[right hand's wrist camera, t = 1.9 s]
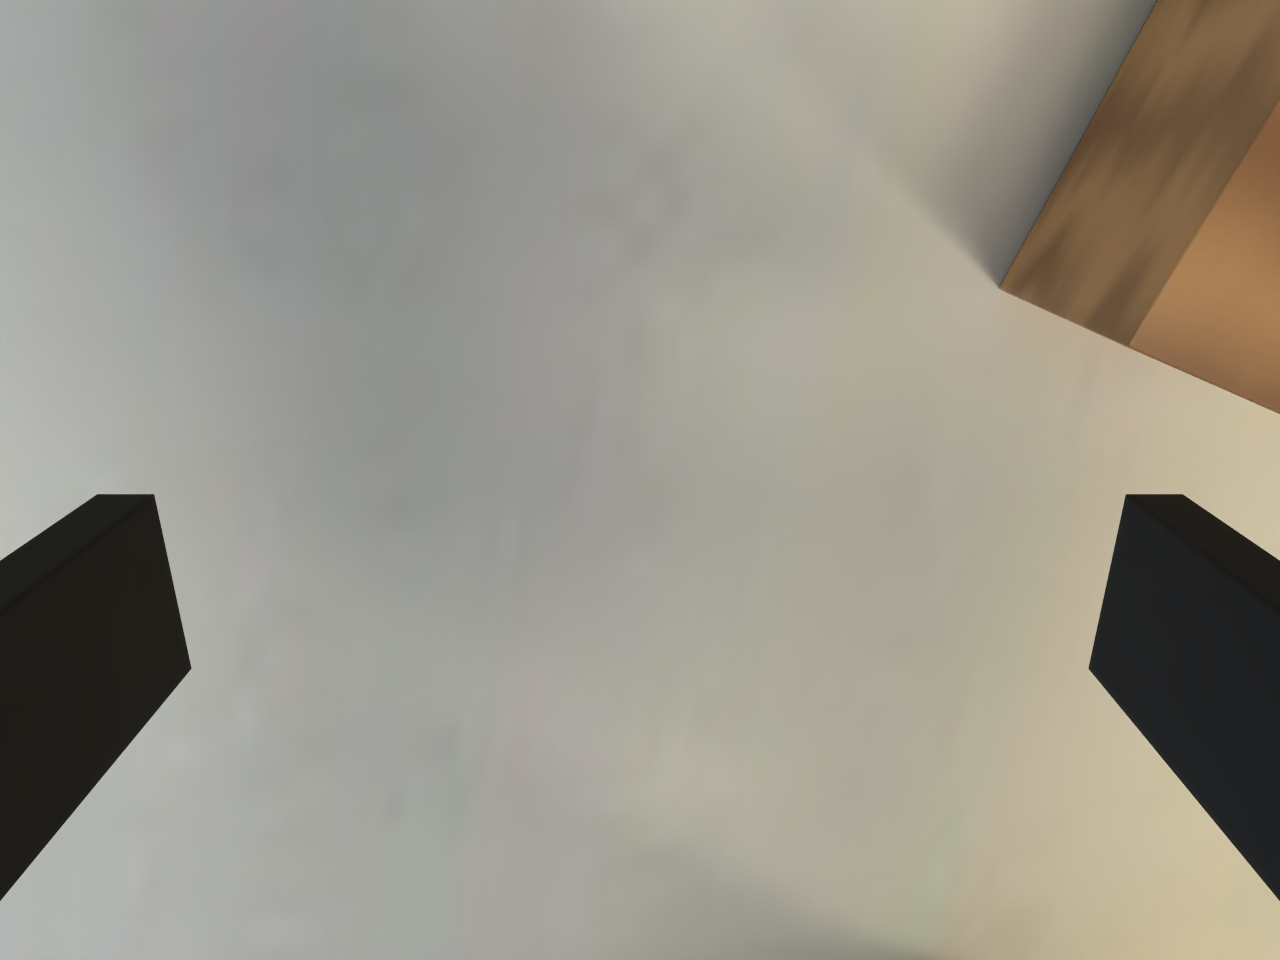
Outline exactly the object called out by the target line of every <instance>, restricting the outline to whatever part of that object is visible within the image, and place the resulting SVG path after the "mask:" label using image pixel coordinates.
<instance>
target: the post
mask: <svg viewBox="0 0 1280 960" xmlns="http://www.w3.org/2000/svg"><path fill="white" fill-rule="evenodd" d="M1000 290H1002V291H1005V292H1007V293H1009V294H1011V295H1013V296H1016V297H1018V298H1020V299H1022V300H1025V301H1027V302H1029V303H1031V304H1033V305H1036V306H1038V307H1040V308H1042V309H1044V310H1047V311H1049V312H1051V313H1053V314H1055V315H1058V316H1060V317H1062V318H1064V319H1067V320H1069V321H1071V322H1073V323H1075V324H1078V325H1080V326H1082V327H1084V328H1086V329H1089V330H1091V331H1093V332H1095V333H1097V334H1100V335H1102V336H1104V337H1106V338H1109V339H1111V340H1113V341H1115V342H1117V343H1120V344H1122V345H1124V346H1126V347H1128V348H1131V349H1133V350H1135V351H1138V352H1140V353H1142V354H1144V355H1147V356H1149V357H1151V358H1153V359H1156V360H1158V361H1160V362H1163V363H1165V364H1167V365H1169V366H1172V367H1174V368H1176V369H1179V370H1181V371H1183V372H1185V373H1188V374H1190V375H1192V376H1194V377H1197V378H1199V379H1201V380H1204V381H1206V382H1208V383H1210V384H1213V385H1215V386H1217V387H1220V388H1222V389H1224V390H1226V391H1229V392H1231V393H1233V394H1235V395H1238V396H1240V397H1242V398H1245V399H1247V400H1249V401H1251V402H1254V403H1256V404H1258V405H1261V406H1263V407H1265V408H1267V409H1270V410H1272V411H1274V412H1276V413H1279V414H1280V0H1158V1H1157V3H1156V4H1155V6H1154V8H1153V10H1152V12H1151V13H1150V15H1149V17H1148V19H1147V21H1146V22H1145V24H1144V26H1143V28H1142V30H1141V32H1140V33H1139V35H1138V37H1137V39H1136V41H1135V42H1134V44H1133V46H1132V48H1131V50H1130V52H1129V53H1128V55H1127V57H1126V59H1125V61H1124V62H1123V64H1122V66H1121V68H1120V70H1119V72H1118V73H1117V75H1116V77H1115V79H1114V81H1113V82H1112V84H1111V86H1110V88H1109V90H1108V92H1107V93H1106V95H1105V97H1104V99H1103V101H1102V102H1101V104H1100V106H1099V108H1098V110H1097V111H1096V113H1095V115H1094V117H1093V119H1092V121H1091V122H1090V124H1089V126H1088V128H1087V130H1086V131H1085V133H1084V135H1083V137H1082V139H1081V141H1080V142H1079V144H1078V146H1077V148H1076V150H1075V151H1074V153H1073V155H1072V157H1071V159H1070V161H1069V162H1068V164H1067V166H1066V168H1065V170H1064V171H1063V173H1062V175H1061V177H1060V179H1059V181H1058V182H1057V184H1056V186H1055V188H1054V190H1053V191H1052V193H1051V195H1050V197H1049V199H1048V200H1047V202H1046V204H1045V206H1044V208H1043V210H1042V211H1041V213H1040V215H1039V217H1038V219H1037V220H1036V222H1035V224H1034V226H1033V228H1032V230H1031V231H1030V233H1029V235H1028V237H1027V239H1026V240H1025V242H1024V244H1023V246H1022V248H1021V250H1020V251H1019V253H1018V255H1017V257H1016V259H1015V260H1014V262H1013V264H1012V266H1011V268H1010V269H1009V271H1008V273H1007V275H1006V277H1005V279H1004V280H1003V282H1002V284H1001V286H1000Z"/></svg>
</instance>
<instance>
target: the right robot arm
mask: <svg viewBox="0 0 1280 960" xmlns="http://www.w3.org/2000/svg"><path fill="white" fill-rule="evenodd" d="M190 670H191V664H190V660H189V655H188V650H187V646H186V641H185V636H184V632H183V627H182V622H181V618H180V613H179V608H178V604H177V599H176V594H175V590H174V585H173V580H172V576H171V571H170V566H169V562H168V557H167V552H166V548H165V543H164V538H163V534H162V529H161V524H160V520H159V515H158V510H157V506H156V501H155V496H154V494H97V495H96V496H94V497H93V498H91V499H90V500H88V501H87V502H86V503H84V504H83V505H81V506H80V507H78V508H77V509H75V510H74V511H72V512H71V513H69V514H68V515H66V516H65V517H64V518H62V519H61V520H59V521H58V522H56V523H55V524H53V525H52V526H50V527H49V528H47V529H46V530H45V531H43V532H42V533H40V534H39V535H37V536H36V537H34V538H33V539H31V540H30V541H28V542H27V543H26V544H24V545H23V546H21V547H20V548H18V549H17V550H15V551H14V552H12V553H11V554H9V555H8V556H6V557H5V558H4V559H2V560H1V561H0V900H1V899H2V898H3V897H4V896H5V894H6V893H7V892H8V891H9V890H10V888H11V887H12V886H13V885H14V883H15V882H16V881H17V880H18V879H19V877H20V876H21V875H22V874H23V873H24V871H25V870H26V869H27V868H28V866H29V865H30V864H31V863H32V862H33V860H34V859H35V858H36V857H37V856H38V854H39V853H40V852H41V851H42V849H43V848H44V847H45V846H46V845H47V843H48V842H49V841H50V840H51V839H52V837H53V836H54V835H55V834H56V832H57V831H58V830H59V829H60V828H61V826H62V825H63V824H64V823H65V822H66V820H67V819H68V818H69V817H70V815H71V814H72V813H73V812H74V811H75V809H76V808H77V807H78V806H79V805H80V803H81V802H82V801H83V800H84V798H85V797H86V796H87V795H88V794H89V792H90V791H91V790H92V789H93V788H94V786H95V785H96V784H97V783H98V781H99V780H100V779H101V778H102V777H103V775H104V774H105V773H106V772H107V771H108V769H109V768H110V767H111V766H112V764H113V763H114V762H115V761H116V760H117V758H118V757H119V756H120V755H121V753H122V752H123V751H124V750H125V749H126V747H127V746H128V745H129V744H130V743H131V741H132V740H133V739H134V738H135V736H136V735H137V734H138V733H139V732H140V730H141V729H142V728H143V727H144V726H145V724H146V723H147V722H148V721H149V719H150V718H151V717H152V716H153V715H154V713H155V712H156V711H157V710H158V709H159V707H160V706H161V705H162V704H163V702H164V701H165V700H166V699H167V698H168V696H169V695H170V694H171V693H172V692H173V690H174V689H175V688H176V687H177V685H178V684H179V683H180V682H181V681H182V679H183V678H184V677H185V676H186V675H187V673H188V672H189V671H190ZM1089 670H1090V671H1091V672H1092V673H1093V675H1094V676H1095V677H1096V678H1097V679H1098V681H1099V682H1100V683H1101V684H1102V685H1103V687H1104V688H1105V689H1106V690H1107V692H1108V693H1109V694H1110V695H1111V696H1112V698H1113V699H1114V700H1115V701H1116V702H1117V704H1118V705H1119V706H1120V707H1121V709H1122V710H1123V711H1124V712H1125V713H1126V715H1127V716H1128V717H1129V718H1130V719H1131V721H1132V722H1133V723H1134V724H1135V726H1136V727H1137V728H1138V729H1139V730H1140V732H1141V733H1142V734H1143V735H1144V736H1145V738H1146V739H1147V740H1148V741H1149V743H1150V744H1151V745H1152V746H1153V747H1154V749H1155V750H1156V751H1157V752H1158V753H1159V755H1160V756H1161V757H1162V758H1163V760H1164V761H1165V762H1166V763H1167V764H1168V766H1169V767H1170V768H1171V769H1172V771H1173V772H1174V773H1175V774H1176V775H1177V777H1178V778H1179V779H1180V780H1181V781H1182V783H1183V784H1184V785H1185V786H1186V788H1187V789H1188V790H1189V791H1190V792H1191V794H1192V795H1193V796H1194V797H1195V798H1196V800H1197V801H1198V802H1199V803H1200V805H1201V806H1202V807H1203V808H1204V809H1205V811H1206V812H1207V813H1208V814H1209V815H1210V817H1211V818H1212V819H1213V820H1214V822H1215V823H1216V824H1217V825H1218V826H1219V828H1220V829H1221V830H1222V831H1223V832H1224V834H1225V835H1226V836H1227V837H1228V839H1229V840H1230V841H1231V842H1232V843H1233V845H1234V846H1235V847H1236V848H1237V849H1238V851H1239V852H1240V853H1241V854H1242V856H1243V857H1244V858H1245V859H1246V860H1247V862H1248V863H1249V864H1250V865H1251V866H1252V868H1253V869H1254V870H1255V871H1256V873H1257V874H1258V875H1259V876H1260V877H1261V879H1262V880H1263V881H1264V882H1265V883H1266V885H1267V886H1268V887H1269V888H1270V890H1271V891H1272V892H1273V893H1274V894H1275V896H1276V897H1277V898H1278V899H1279V900H1280V561H1279V560H1278V559H1276V558H1275V557H1274V556H1272V555H1271V554H1269V553H1268V552H1266V551H1265V550H1263V549H1262V548H1260V547H1259V546H1257V545H1256V544H1254V543H1253V542H1252V541H1250V540H1249V539H1247V538H1246V537H1244V536H1243V535H1241V534H1240V533H1238V532H1237V531H1235V530H1234V529H1233V528H1231V527H1230V526H1228V525H1227V524H1225V523H1224V522H1222V521H1221V520H1219V519H1218V518H1216V517H1215V516H1214V515H1212V514H1211V513H1209V512H1208V511H1206V510H1205V509H1203V508H1202V507H1200V506H1199V505H1197V504H1196V503H1194V502H1193V501H1192V500H1190V499H1189V498H1187V497H1186V496H1184V495H1183V494H1126V496H1125V501H1124V506H1123V510H1122V515H1121V520H1120V524H1119V529H1118V534H1117V538H1116V543H1115V548H1114V552H1113V557H1112V562H1111V566H1110V571H1109V576H1108V580H1107V585H1106V590H1105V594H1104V599H1103V604H1102V608H1101V613H1100V618H1099V622H1098V627H1097V632H1096V636H1095V641H1094V646H1093V650H1092V655H1091V660H1090V664H1089Z"/></svg>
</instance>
